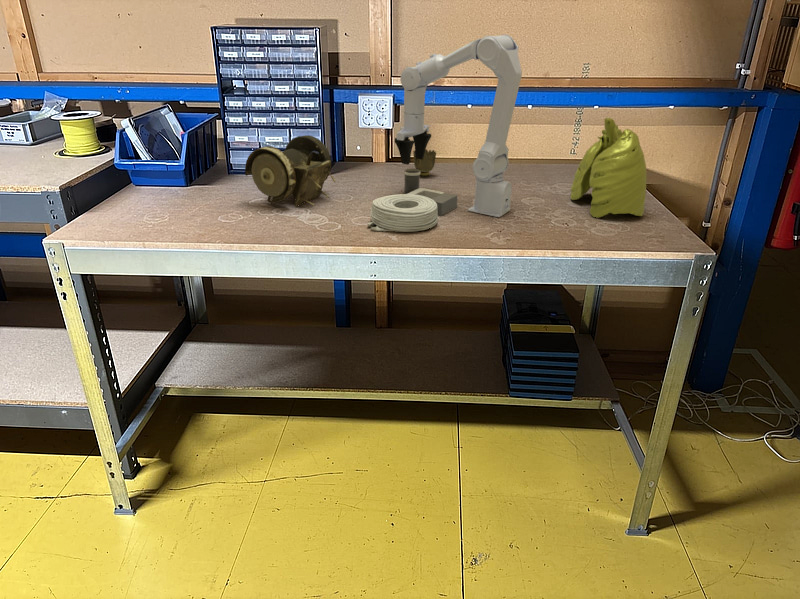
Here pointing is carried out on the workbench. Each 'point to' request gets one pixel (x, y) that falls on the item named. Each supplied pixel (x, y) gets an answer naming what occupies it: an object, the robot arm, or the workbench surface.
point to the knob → (411, 180)
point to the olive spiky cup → (425, 162)
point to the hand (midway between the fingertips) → (412, 161)
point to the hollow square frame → (439, 199)
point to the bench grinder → (291, 170)
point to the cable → (403, 213)
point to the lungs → (613, 173)
